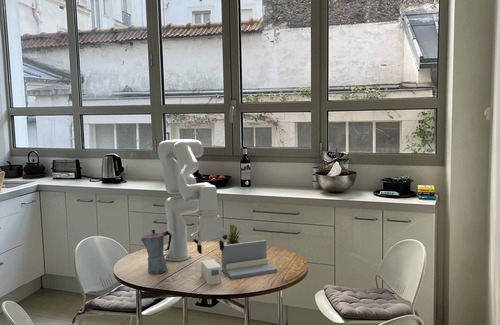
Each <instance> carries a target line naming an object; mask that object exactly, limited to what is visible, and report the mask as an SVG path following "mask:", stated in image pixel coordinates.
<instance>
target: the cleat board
mask: <svg viewBox="0 0 500 325" xmlns="http://www.w3.org/2000/svg"><path fill="white" fill-rule="evenodd" d="M220 252H221V271H223V272H224V273H225V274H226V275H227V276H228V277H229V278H230V279H231V280H235V279H240V278H247V277H248V278H249V277H253V276H259V275H268V274H273V273H277V272H278V268H277V267H276V266H274V265H273V264H271V263H270V262H268V257H267V240H266V239H262V240H254V241H248V242H247V241H245V242H240V243H237V244H230V245H227V244H224V248H223V251H221V250H220Z"/></svg>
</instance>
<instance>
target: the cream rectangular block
mask: <svg viewBox="0 0 500 325" xmlns="http://www.w3.org/2000/svg"><path fill="white" fill-rule="evenodd" d="M200 273H201V277H203V280H204V281H205V283H206V284H207V285H214V284H215V283H216V284H221V282H223V278H222V265H220V264H219V263H218V262H217V260H216V259H215V258H212V259H211V258H210V259H204V260H203V259H202V260H200Z"/></svg>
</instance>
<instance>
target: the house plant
mask: <svg viewBox="0 0 500 325" xmlns="http://www.w3.org/2000/svg"><path fill="white" fill-rule="evenodd" d="M229 225H230V226H229V234H228V236H227V238H226V239H225V243H226V244H225V245H230V244H237V243H241V241H240V239H241V238H240V235H242V234H244V232H243V233H240V232H241V230H242V228H240V229H239V230H238V226H237V225H236V224H235V223H233V224H232V223H231V222H229ZM222 228H223V229H226V230H227V228H226V227H225V226H223V225H222ZM237 230H238V231H237ZM223 236H224V235H223ZM223 236H222V237H223Z"/></svg>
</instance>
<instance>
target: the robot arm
mask: <svg viewBox="0 0 500 325" xmlns="http://www.w3.org/2000/svg"><path fill="white" fill-rule="evenodd" d="M203 154H204V146H203V143H202V142H201V141H200V140H199V139H198V140H197V139H192V138H185V139H169V140H164V141H161V142H160V143H159V144H158V147H157V155H158V157H159V161H160V162H161V166H162V171H163V178H164V179H163V180H164V186H165V190H166V192H167V193H168V194H171V195H173V194H174V195H175V194H180V195H175V196H170V197H168V198H166V199H165V201H164V210H165V215H166V224H167V231H168V232H169V233H170V234H171V235H172V238H171V242H170V248H169V250H168V251H165V250H163V255H164V257H165V260H167V261H171V262H181V261H186V260H189V259H190V258H191V257H192V254H191V253H190V252H189V251H188V250H189V249H188V234H187V232H188V231H187V230H188V228H187V222H186V220H185V218H183V217H182V216H184V215H189V214H194V213H196V215H197V216H199V217H198V222H197V223H198V224H197V230H196V231H194V232H193V233H192V234H190V235H189V236H190V238H191V240H192V241H193V242H194V243H195V244H196V250H197V251H196V252H197V253H198V254H200V255H202V254H203V250H202V249H203V248H202V242H203V241H204V242H205V241H213V240H214V241H215V240H219V241H218V242H219V245H218V246H219V250H220V252H221V251H223V248H224V245H225V242H226V240H227V239H226V238H228V237H229V236H228V235H229V234H230V230H228V229H227V228H226V229H225V228H224V227H222V226H223V225H222V219H221V216H220V215H219V214H218V213H219V211H218V192H217V187H216V185H214V184H211V183H209V182H197V180H196V177H195V175H194V173H196V172H197V171H198V170H199V167H200V165H199V162H198V160H197V158H200V157H202V156H203ZM175 158H176V159H175ZM223 233H224V234H223ZM196 236H197V237H198V239H196ZM222 236H223V237H222ZM225 239H226V240H225ZM168 241H169V235H167V242H168Z"/></svg>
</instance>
